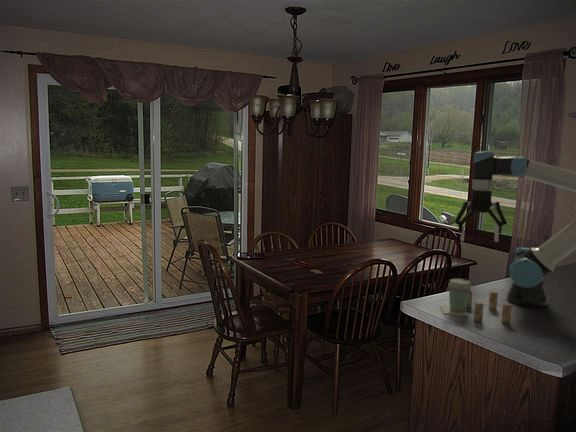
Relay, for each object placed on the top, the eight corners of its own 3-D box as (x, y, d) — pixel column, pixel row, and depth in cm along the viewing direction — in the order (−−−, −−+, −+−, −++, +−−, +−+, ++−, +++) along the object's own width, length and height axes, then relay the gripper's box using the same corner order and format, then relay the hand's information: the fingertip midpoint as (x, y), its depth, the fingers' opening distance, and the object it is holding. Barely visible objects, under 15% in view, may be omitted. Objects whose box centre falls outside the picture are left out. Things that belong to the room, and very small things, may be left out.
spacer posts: (497, 307, 195) (498, 291, 194) (511, 325, 176) (513, 306, 175) (462, 305, 197) (463, 289, 196) (473, 322, 178) (474, 304, 177)
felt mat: (463, 308, 194) (463, 307, 194) (467, 315, 185) (467, 314, 185) (440, 306, 195) (440, 305, 195) (443, 314, 187) (443, 313, 187)
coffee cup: (466, 315, 184) (469, 285, 182) (444, 311, 189) (446, 281, 187) (471, 309, 191) (473, 280, 189) (449, 305, 196) (451, 276, 194)
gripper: (510, 189, 198) (507, 239, 200) (448, 188, 200) (446, 238, 203) (517, 190, 190) (513, 243, 193) (452, 190, 193) (450, 242, 196)
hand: (479, 241), depth 198 cm, fingers open, 13 cm apart
